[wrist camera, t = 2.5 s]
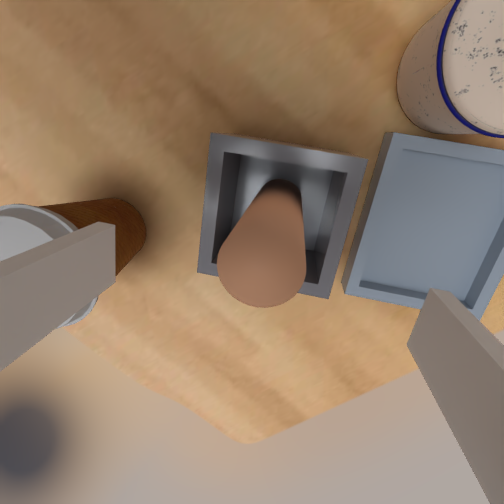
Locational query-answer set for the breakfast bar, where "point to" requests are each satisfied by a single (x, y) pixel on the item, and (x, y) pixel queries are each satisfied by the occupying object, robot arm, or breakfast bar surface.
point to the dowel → (266, 248)
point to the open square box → (299, 173)
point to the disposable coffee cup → (71, 230)
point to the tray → (430, 224)
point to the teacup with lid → (456, 70)
